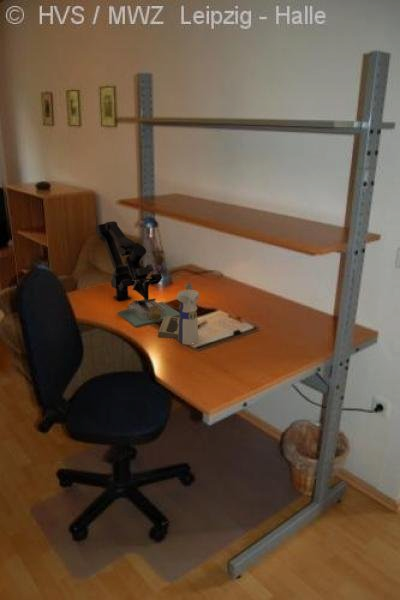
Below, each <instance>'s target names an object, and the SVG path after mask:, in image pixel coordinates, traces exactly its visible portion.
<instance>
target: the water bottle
mask: <svg viewBox="0 0 400 600" xmlns="http://www.w3.org/2000/svg"><path fill="white" fill-rule="evenodd" d="M184 286H185V288H186V289H182V290H180V291H178V293H177V295H176V299H177V301H179V302H180V304H179V307H178V310H179V313H180V317H178V318H179V336H178V343H180V344H181V345H189V346H190V344H191V345H193V344H192V343H195V344H197V343H198V342H199V326H198V323H199V322H198V320H199V319H198V313H197V312H198V311H197V310H198V306H197V303H198V302H199V301H200V295H199V292H198V291H197V290H194V289H192V287H193V286H194V284H191V283H190V281H188V282H187V284H184ZM197 341H198V342H197ZM196 342H197V343H196Z"/></svg>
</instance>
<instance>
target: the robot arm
mask: <svg viewBox="0 0 400 600" xmlns="http://www.w3.org/2000/svg"><path fill="white" fill-rule="evenodd" d="M95 233H96V235H97V236H98V239H99V240H100V241H101V242H103V244H104V246H105V248H106V251H107V254H108V256H109V258H110V262H111V265H112V267H113V273H112V279H111V281H110V284H111V287H112V288H114V289H115V295H113V298H114V299H116V301H118V302H122V301H126V300H131V299H132V297H131V296H130V295H129V287H132V290H133V291H135V292H137V293H138V294H140V295H141V296H142V298H143V299H144V298H145V299H146V300H148V299H150V297H149V289H150V288H149V286H150V285H152V286H153V285H158V284H159V283H160V282H161V280H162V279H163V276H162V274H161V273H159V272H158V273H153V274H151V272H154V267H153V265H152V264H151V263H150V264H146V266H144V265H142V263H141V262H142V261H143V259H144V257H146V256H145V255H146V254H147V249H146V248H145V246H144V245H141V244H140V243H139V242H134V240H132V239H131V238H128V237H127V236H126V235H125V233H124V232H123V231H122V230H121V228H120V227H119V225H118V222H117V221H115V220H113V221H107V222H104V223H100V224H99V223H98V224H97V225H96V227H95ZM117 245H118V246H117ZM125 256H126V257H125ZM122 257H125V261H124V263H123V260H122ZM124 264H125V265H124ZM150 274H151V275H150ZM149 275H150V277H148V276H149Z"/></svg>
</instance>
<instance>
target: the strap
mask: <svg viewBox="0 0 400 600" xmlns="http://www.w3.org/2000/svg"><path fill="white" fill-rule="evenodd" d="M137 301H138V302H151V301H155V302H156V298H149V299H148V300H146V299H144V298H143V299H140V300H137Z"/></svg>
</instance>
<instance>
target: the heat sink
mask: <svg viewBox="0 0 400 600" xmlns="http://www.w3.org/2000/svg"><path fill="white" fill-rule="evenodd" d="M143 299H145V298H144V297H143ZM138 301H139V300H138V299H135V300H133V301H132V302H130V303H129V304H128V309H129V311H130V312H131V313H132V314H134V315H135V316H136V317H138V318H139V319H141V320H142V321H146V320H150V319H151V320H152V321H154V320H158V319H161V317H162V316H166V308H165V307H163V306H162V305H160V304H158V303H159V302H157V301H156V300H155V301H151V302H138Z"/></svg>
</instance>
